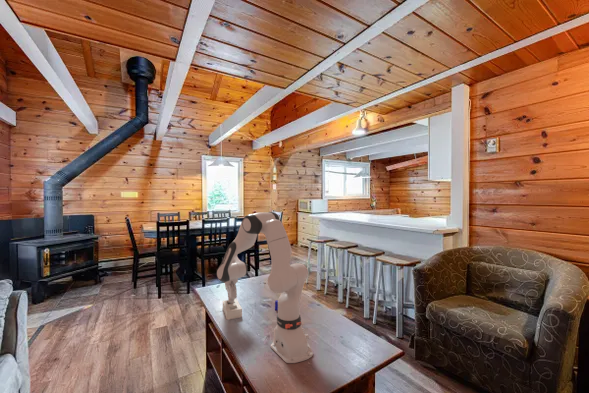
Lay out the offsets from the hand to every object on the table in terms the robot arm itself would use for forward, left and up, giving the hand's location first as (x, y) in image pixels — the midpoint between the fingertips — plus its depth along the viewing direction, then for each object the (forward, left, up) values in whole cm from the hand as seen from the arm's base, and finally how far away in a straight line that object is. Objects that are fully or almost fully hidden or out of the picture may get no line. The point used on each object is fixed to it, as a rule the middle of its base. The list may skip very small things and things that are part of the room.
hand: (230, 300), depth 165 cm
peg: (0, 0, -6) cm, 6 cm away
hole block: (-4, 0, -6) cm, 7 cm away
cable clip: (-9, -32, -6) cm, 34 cm away
